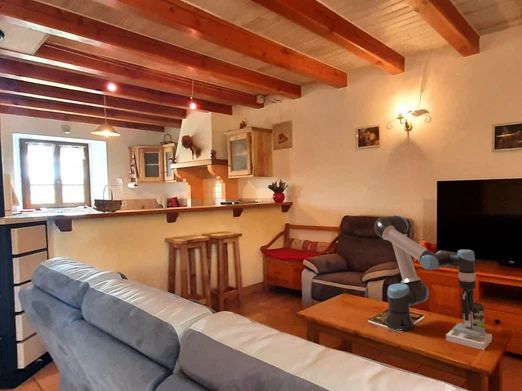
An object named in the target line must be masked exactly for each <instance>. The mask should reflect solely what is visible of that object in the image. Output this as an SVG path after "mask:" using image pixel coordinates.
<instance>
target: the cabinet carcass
mask: <svg viewBox="0 0 522 391" xmlns="http://www.w3.org/2000/svg"><path fill="white" fill-rule="evenodd" d="M445 340H446V341H447V342H451V343H454V344H458V345H462V346H466V347H470V348H474V349H478V350H481V349H482V351H485V350H486V349H485V348H487V347H488V346H489V345H490V344H491V343H492V341H493V335H492V333H487V332H486V331H485V332H484V333H483V334H482V335H481V336H480V337H476V336H472V335H467V334H463V333H459V332H455V331H453V328H452V329H451V330H450V331H449V332H448V333H446V334H445ZM489 343H490V344H489Z"/></svg>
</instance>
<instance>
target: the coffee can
mask: <svg viewBox="0 0 522 391" xmlns="http://www.w3.org/2000/svg"><path fill="white" fill-rule="evenodd" d="M462 321H463V323H464V314H463V313H462ZM473 326H477V327H482V328H485V329H486V326H485V306H484V304H482V303H479V302H475V301H474V312H473Z"/></svg>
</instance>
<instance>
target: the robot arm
mask: <svg viewBox="0 0 522 391" xmlns="http://www.w3.org/2000/svg"><path fill="white" fill-rule="evenodd" d="M373 225H374V227H373V228H374V232H375V233H376V234H377V236H378V237H380V238H381V239H383V240H384V241H389V243H391V244H392V248H393V251H394V254H395V259H396V261H397V264H398V267H399V271H400V275H401V279H402V280H401V281H400V283H393V284H389V286H388V287H387V306H388V307H387V309H388V310H387V316H386V318H385V325H386V324H387V325H388V326H389V327H391V328H394V329H402V330H405V331H411V330H413V329H414V326H415V325H414V321H413V318H412V316H411V310H410V309H411V307H410V306H414V305H417V304H422V303H424V302H426V301H427V300H428V299H429V296H430V292H429V288H428V286H427V284H425V283H424V282H423V281H422V278H420V277H419V276H418V274H417V272H416V269H415V265H414V262H413V258H415V259H416V261H417V260H418V262H420V265H421V267H422V268H423V269H425V270H428V271H429V270H436V269H440V268H445V267H454V268H458V269H457V270H458V272H457V273H458V275H457V276H458V279H459V280H458V287H459V288H461V289H462V293H461V295H460V297H461V309H462V310H461V314H462V315H463V314H464V326H467V327H471V317H470V310H471V311H472V325H473V312H474V302H475V299H474V297H475V296H474V294H475V290H474V289H476V288H477V286H476V284H477V282H476V277H477V274H476V263H475V262H476V257H475V252H474V251H473V250H471V249H459V250H457V252H453V251H447V250H438V251H437V252H435V253H433V252H432V251H431V250H428V249H427V248H426V247H424V246H423V245H421V244H419V243H417V242H416V241H414V240H413V239H411V238H409V237H408V233H407V232H408V231H409V222H408V220H407V219H406V218H405V217H404V216H402V215H388V216H380V217H378V219H377V220H375V222H374V224H373ZM412 257H413V258H412ZM389 327H388V328H389ZM391 328H390V329H391ZM394 329H393V330H394Z"/></svg>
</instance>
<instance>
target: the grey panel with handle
mask: <svg viewBox="0 0 522 391" xmlns="http://www.w3.org/2000/svg"><path fill="white" fill-rule="evenodd" d="M470 317H471V327H467V326H464V323H462V322H458V323H457V324H456V325H455V326H453V328H452V329H453V331H455V332H459V333H463V334H467V335H472V336H476V337H480V336H481V335H482V334H483V333H484V332H485V333H486V327H485V328H482V327H477V326H473V325H472V311H471V310H470Z"/></svg>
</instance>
